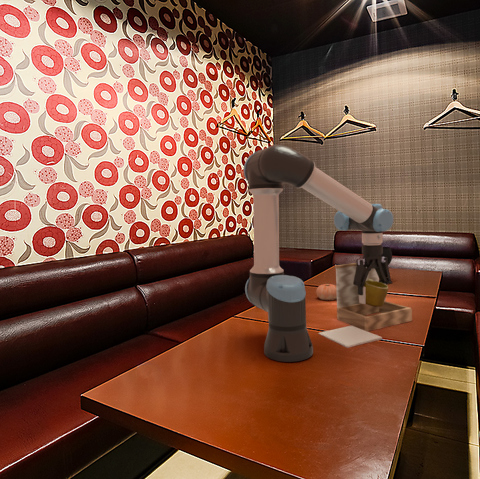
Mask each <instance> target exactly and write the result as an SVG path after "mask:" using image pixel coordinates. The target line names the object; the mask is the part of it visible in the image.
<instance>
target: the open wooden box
mask: <svg viewBox="0 0 480 479" xmlns="http://www.w3.org/2000/svg"><path fill="white" fill-rule="evenodd" d="M356 267H357V263H356V262H353V263H346V264H345V263H344V264H337V265H334V269H335V282H336V284H335V286H336V291H337V298H336V318H337V320H338V321H340V322H343V323H345V324H347V325H348V326H354V327H357V328H359V329H362V330H364V331H367V332H370V331H375V330H379V329H382V328H387V327H391V326H396V325H399V324H404V323H408V322H412V321H413V315H412V314H413V308H412V307H409V306H405V305H401V304H397V303H395V302H394V303H393V302H390V301H386V300H385V301H384V304H383V306H381V307H375V306H370V305H367V304H362V303H359V295H358V286H356V285H354V284H353V282H354V277H355V272H356ZM366 268H367V267H366ZM368 279H372V280H373V281H378V282H379V280H380V279H379V277H378V275H377V272H376V270H375V269H374V268H373V269H371V271H369V274H368V276H367V279H366V280H368Z"/></svg>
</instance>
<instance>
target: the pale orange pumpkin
mask: <svg viewBox="0 0 480 479" xmlns="http://www.w3.org/2000/svg"><path fill="white" fill-rule="evenodd" d="M316 296H317V297H318V298H319V299H320V300H323V301H328V300H329V301H334V300H337V291H336V284H331V283H325V284H320V285H319V286H318V287H317V288H316Z"/></svg>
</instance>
